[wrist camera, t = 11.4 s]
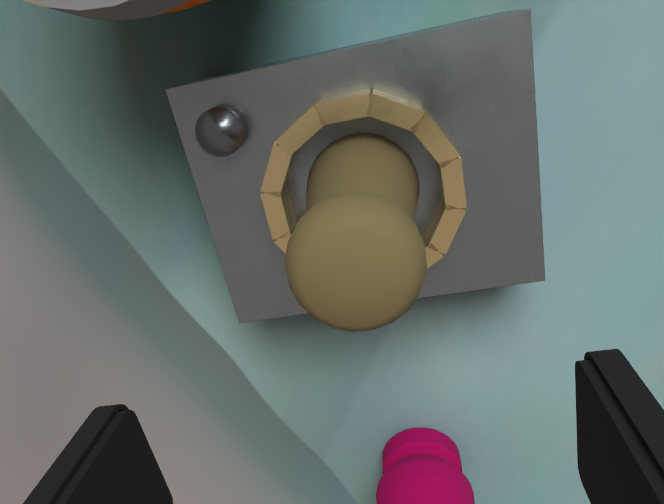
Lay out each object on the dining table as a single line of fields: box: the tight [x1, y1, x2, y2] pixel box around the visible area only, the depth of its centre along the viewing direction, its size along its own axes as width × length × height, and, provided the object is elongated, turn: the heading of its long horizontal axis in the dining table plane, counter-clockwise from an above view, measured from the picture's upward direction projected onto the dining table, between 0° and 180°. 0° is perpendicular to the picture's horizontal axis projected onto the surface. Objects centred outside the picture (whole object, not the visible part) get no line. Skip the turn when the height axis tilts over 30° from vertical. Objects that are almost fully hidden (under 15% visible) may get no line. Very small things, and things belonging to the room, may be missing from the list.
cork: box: [285, 133, 427, 332], centre depth 22 cm, size 6×6×11 cm
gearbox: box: [166, 9, 545, 323], centre depth 29 cm, size 14×18×8 cm
